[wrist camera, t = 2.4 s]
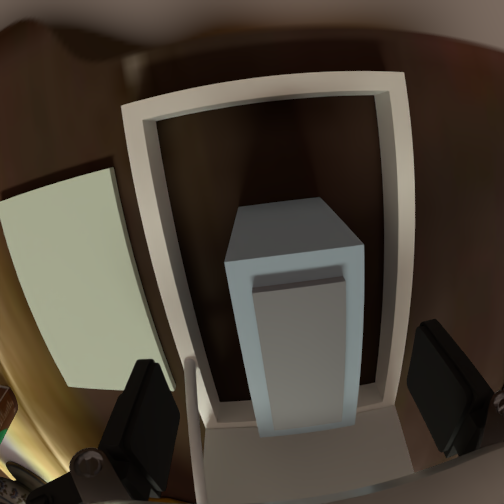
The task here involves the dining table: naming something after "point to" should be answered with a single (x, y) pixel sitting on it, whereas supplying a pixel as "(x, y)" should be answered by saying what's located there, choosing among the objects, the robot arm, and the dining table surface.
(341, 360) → the box
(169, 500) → the bucket of meat
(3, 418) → the food container
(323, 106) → the dining table surface
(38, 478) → the apothecary jar
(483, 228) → the dining table surface
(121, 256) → the mat
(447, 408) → the robot arm
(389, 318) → the case
